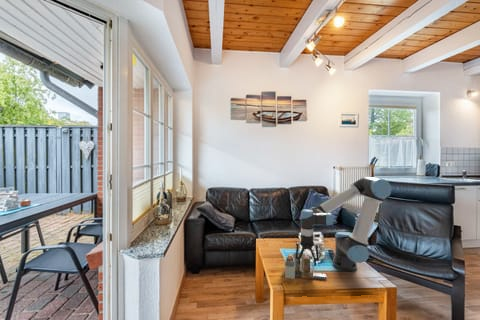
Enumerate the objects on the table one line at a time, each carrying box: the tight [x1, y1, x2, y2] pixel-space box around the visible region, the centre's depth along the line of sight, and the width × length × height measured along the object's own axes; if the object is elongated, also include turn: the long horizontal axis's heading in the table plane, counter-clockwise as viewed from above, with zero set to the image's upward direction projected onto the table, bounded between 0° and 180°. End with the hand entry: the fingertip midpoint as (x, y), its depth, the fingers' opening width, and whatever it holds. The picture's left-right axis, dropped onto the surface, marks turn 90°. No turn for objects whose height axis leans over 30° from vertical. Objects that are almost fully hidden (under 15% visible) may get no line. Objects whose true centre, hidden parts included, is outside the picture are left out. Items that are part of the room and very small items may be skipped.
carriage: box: [301, 255, 314, 280], centre depth 144 cm, size 7×6×12 cm
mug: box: [292, 252, 307, 272], centre depth 153 cm, size 8×13×10 cm, turn 79°
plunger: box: [287, 253, 293, 261], centre depth 147 cm, size 3×3×3 cm
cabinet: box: [284, 256, 296, 280], centre depth 147 cm, size 6×9×10 cm, turn 168°
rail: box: [295, 270, 327, 281], centre depth 144 cm, size 19×4×2 cm, turn 78°
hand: (307, 270), depth 145 cm, fingers closed on carriage, 7 cm apart
